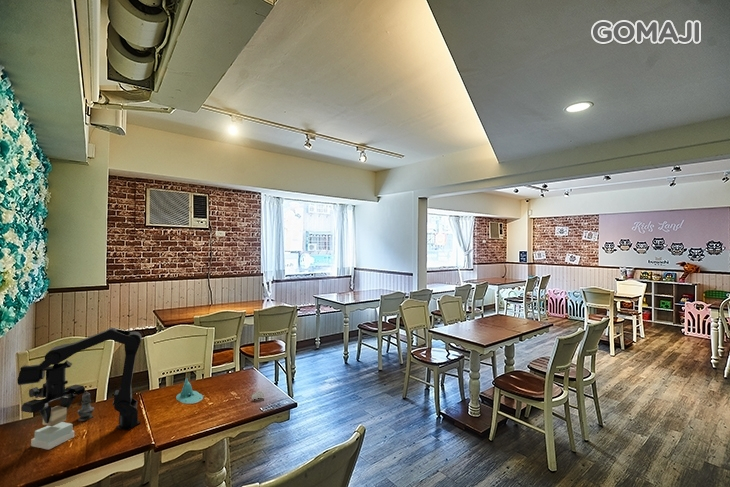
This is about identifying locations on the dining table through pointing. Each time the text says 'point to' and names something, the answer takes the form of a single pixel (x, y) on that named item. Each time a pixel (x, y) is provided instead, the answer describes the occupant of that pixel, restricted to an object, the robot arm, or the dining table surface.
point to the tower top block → (53, 432)
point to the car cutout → (257, 395)
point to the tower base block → (53, 443)
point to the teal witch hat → (189, 394)
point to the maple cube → (56, 416)
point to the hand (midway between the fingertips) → (54, 419)
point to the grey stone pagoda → (85, 408)
